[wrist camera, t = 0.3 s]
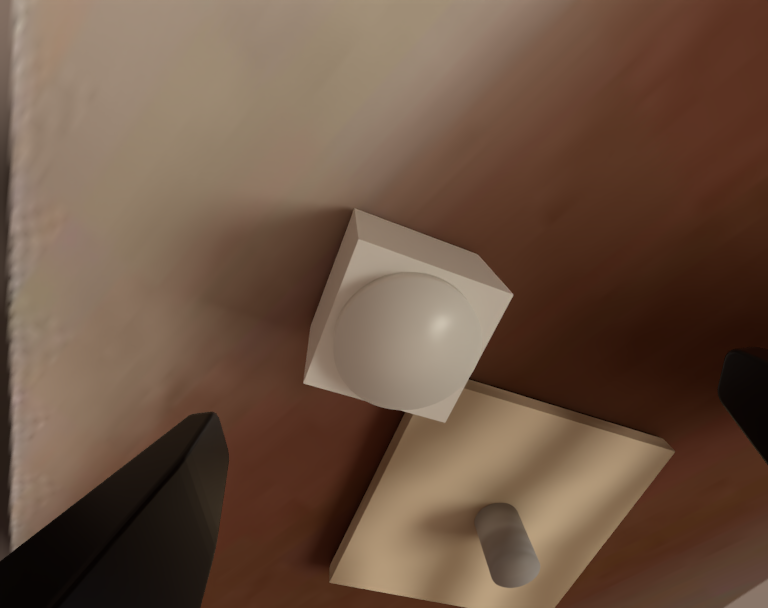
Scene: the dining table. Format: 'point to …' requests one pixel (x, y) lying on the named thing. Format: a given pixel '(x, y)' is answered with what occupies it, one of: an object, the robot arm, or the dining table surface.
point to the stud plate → (494, 502)
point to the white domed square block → (402, 319)
